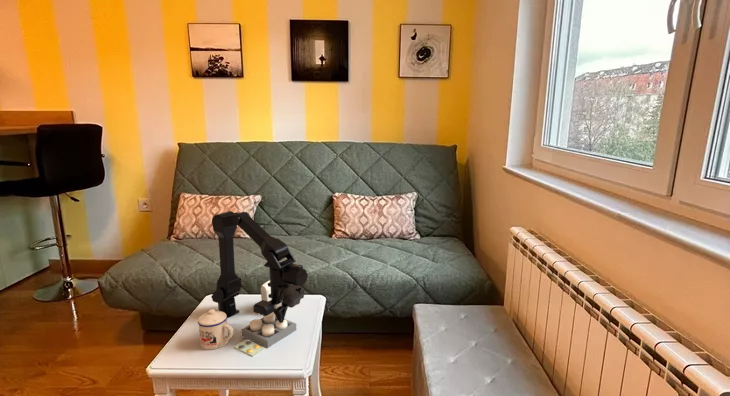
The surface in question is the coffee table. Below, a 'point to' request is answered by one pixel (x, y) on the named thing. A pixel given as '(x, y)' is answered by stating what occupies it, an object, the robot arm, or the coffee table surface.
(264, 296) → the photo printer
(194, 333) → the coffee table surface
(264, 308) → the robot arm
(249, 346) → the lights out board
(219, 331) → the teacup with lid
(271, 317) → the button
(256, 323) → the button
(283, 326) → the button
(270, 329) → the button
